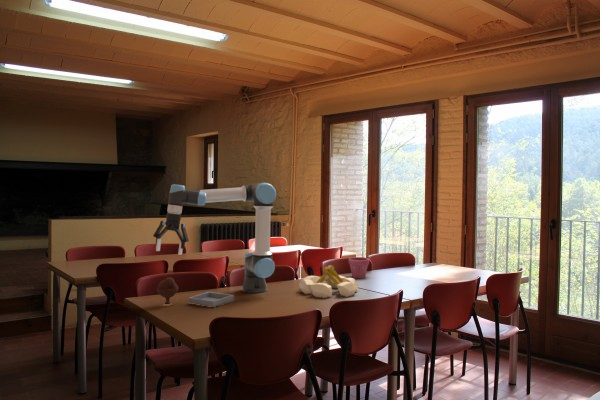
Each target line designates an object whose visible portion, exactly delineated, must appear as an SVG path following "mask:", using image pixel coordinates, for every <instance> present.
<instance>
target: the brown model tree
mask: <svg viewBox="0 0 600 400" xmlns="http://www.w3.org/2000/svg"><path fill="white" fill-rule="evenodd" d="M156 290H157V293H158V295H160V296H161V297H163V298H165V302H164V303H165V304H170V303H171V302H170V299H171V298H173V296H175V295H177V293H178V290H179V286H178V284H177V283H176V281H175V279H174V278H173V277H171V276H170V277H169V276H168V277H166V278H165V279H163V280H161V281H160V282H159V283H158V285H157V287H156Z"/></svg>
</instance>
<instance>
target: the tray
mask: <svg viewBox="0 0 600 400" xmlns="http://www.w3.org/2000/svg"><path fill="white" fill-rule="evenodd" d="M187 299H188V302H190V303H195V304H200V305H205V306H211V307H215V306H219V305H222V304H225V305H227V304H226V303H228V304H230V303H229V302H231V303H233V301H234V300H235V299H234V294H228V293H220V292H213V291H206V292H203V293H200V294H196V295H193V296H190V297H188V298H187ZM222 306H223V305H222ZM219 307H220V306H219Z"/></svg>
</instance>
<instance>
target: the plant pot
mask: <svg viewBox="0 0 600 400" xmlns="http://www.w3.org/2000/svg"><path fill="white" fill-rule="evenodd" d="M369 264H370V259H369V258H367V257H350V258H348V265H349V268H350V272H351V273H350V274H351V278H353V279H364V278H366V276H367V275H366V274H367V270H368V266H369Z"/></svg>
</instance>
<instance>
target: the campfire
mask: <svg viewBox="0 0 600 400" xmlns="http://www.w3.org/2000/svg"><path fill="white" fill-rule="evenodd" d="M335 268H336V267H335V266H334V265H333V264H330V265H329V264H328V265H327V266H325V267H324V268H323V269H322V271H323V272H324V273H323V274H322V275H321V276H317V275H308V276H305V277H304V278H302V279H300V283H299V285H298V287H299V288H300V291H301V292H302V293H304V294H305V295H312V294H313V296H314V297H315V298H321V297H322V299H327V298H330V297H332V296H333V289H337V290H338V292H339V294H340V296H341V297H346V298H347V297H352V296H354V294H355V293H357V292H358V288H359V284H358V283H357V281H356V278H354V277H346V276H343V275H340V274H338V273H337V271H336V270H335ZM324 281H325V282H324Z"/></svg>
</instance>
